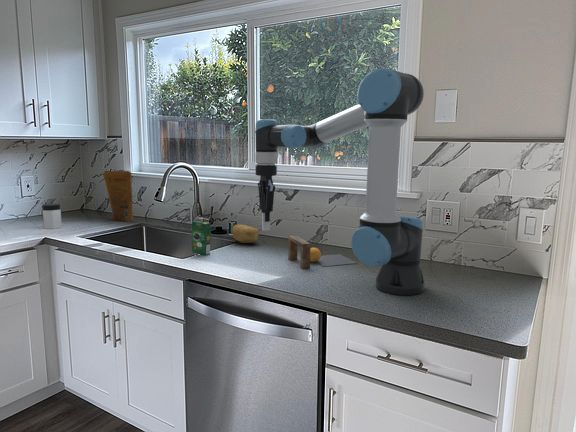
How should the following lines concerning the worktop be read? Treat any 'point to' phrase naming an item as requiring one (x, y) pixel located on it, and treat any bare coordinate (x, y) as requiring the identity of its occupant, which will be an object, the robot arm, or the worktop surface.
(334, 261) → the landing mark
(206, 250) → the coffee box
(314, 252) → the ball
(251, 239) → the potato
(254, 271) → the worktop surface
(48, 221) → the jar
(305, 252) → the bridge
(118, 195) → the pancake mix bag
